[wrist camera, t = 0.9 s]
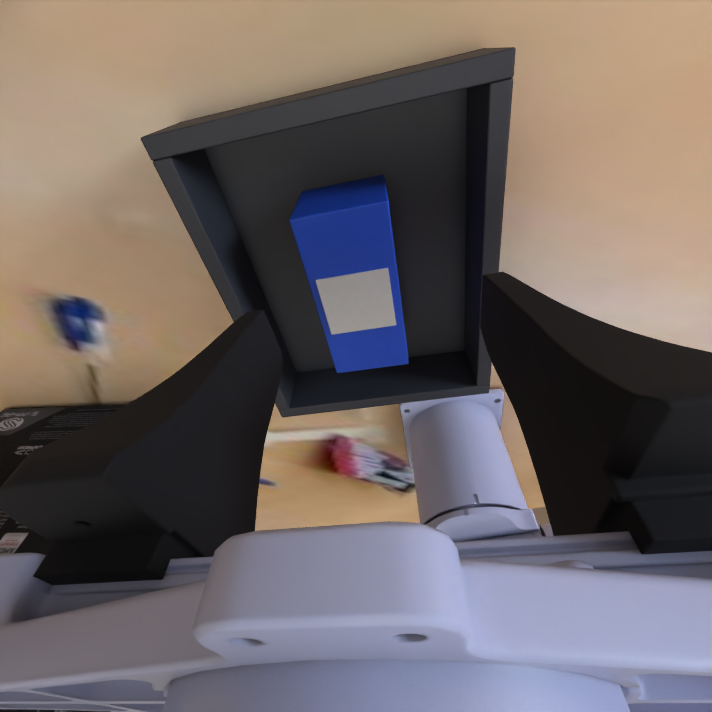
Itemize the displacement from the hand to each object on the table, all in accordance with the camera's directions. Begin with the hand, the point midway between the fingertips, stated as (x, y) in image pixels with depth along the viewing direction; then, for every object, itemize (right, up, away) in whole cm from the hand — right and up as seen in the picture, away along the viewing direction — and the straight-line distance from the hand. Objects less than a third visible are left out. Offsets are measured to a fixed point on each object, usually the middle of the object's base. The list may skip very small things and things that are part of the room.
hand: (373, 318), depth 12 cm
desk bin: (0, +4, +9) cm, 10 cm away
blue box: (0, +4, +8) cm, 9 cm away
